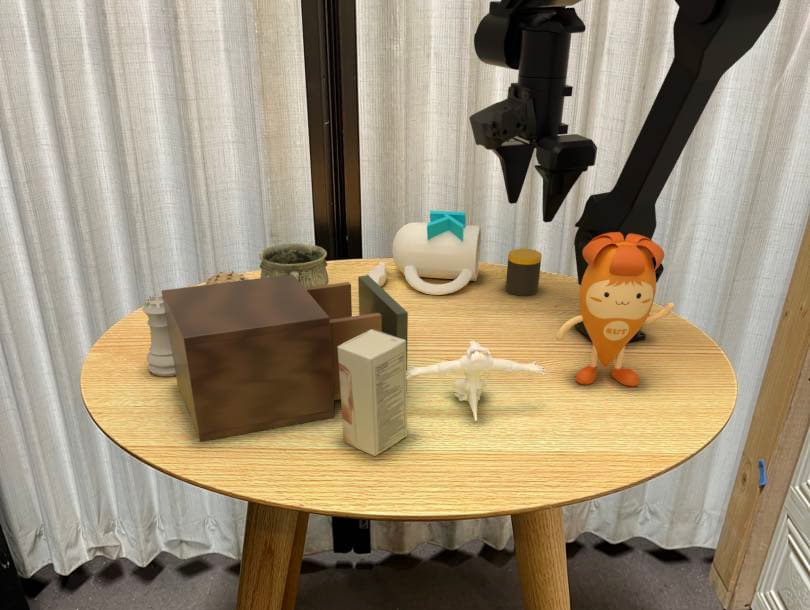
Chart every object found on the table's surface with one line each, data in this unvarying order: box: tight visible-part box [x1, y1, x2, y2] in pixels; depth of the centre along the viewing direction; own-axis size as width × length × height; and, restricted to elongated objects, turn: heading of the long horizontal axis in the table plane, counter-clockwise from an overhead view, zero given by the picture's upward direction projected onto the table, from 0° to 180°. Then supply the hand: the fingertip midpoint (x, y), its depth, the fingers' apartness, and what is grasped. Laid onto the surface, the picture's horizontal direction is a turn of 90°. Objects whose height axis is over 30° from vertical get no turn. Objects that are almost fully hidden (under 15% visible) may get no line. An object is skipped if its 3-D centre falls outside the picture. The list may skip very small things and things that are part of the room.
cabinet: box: [161, 274, 335, 442], centre depth 83 cm, size 14×13×11 cm
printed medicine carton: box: [338, 330, 408, 457], centre depth 77 cm, size 5×4×10 cm
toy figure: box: [555, 232, 675, 387], centre depth 88 cm, size 12×8×15 cm
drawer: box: [305, 274, 409, 401], centre depth 86 cm, size 14×11×9 cm
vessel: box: [258, 242, 329, 288], centre depth 107 cm, size 12×9×6 cm
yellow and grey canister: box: [505, 248, 542, 297], centre depth 112 cm, size 4×4×5 cm
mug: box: [391, 210, 482, 296], centre depth 113 cm, size 12×9×12 cm
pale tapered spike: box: [366, 261, 388, 287], centre depth 112 cm, size 15×3×2 cm, turn 172°
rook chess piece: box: [142, 294, 176, 377], centre depth 90 cm, size 4×4×8 cm
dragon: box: [406, 339, 548, 421], centre depth 83 cm, size 15×7×8 cm, turn 96°
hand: (529, 212), depth 107 cm, fingers open, 9 cm apart
